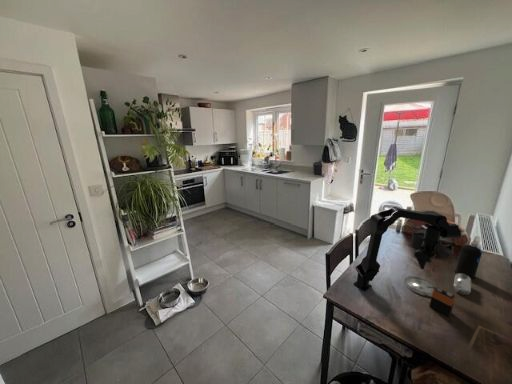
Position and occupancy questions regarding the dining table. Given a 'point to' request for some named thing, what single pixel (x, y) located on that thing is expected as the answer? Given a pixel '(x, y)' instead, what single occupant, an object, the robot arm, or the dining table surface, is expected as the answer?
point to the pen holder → (417, 241)
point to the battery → (442, 301)
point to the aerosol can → (468, 260)
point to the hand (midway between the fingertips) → (425, 265)
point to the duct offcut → (462, 284)
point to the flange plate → (420, 286)
